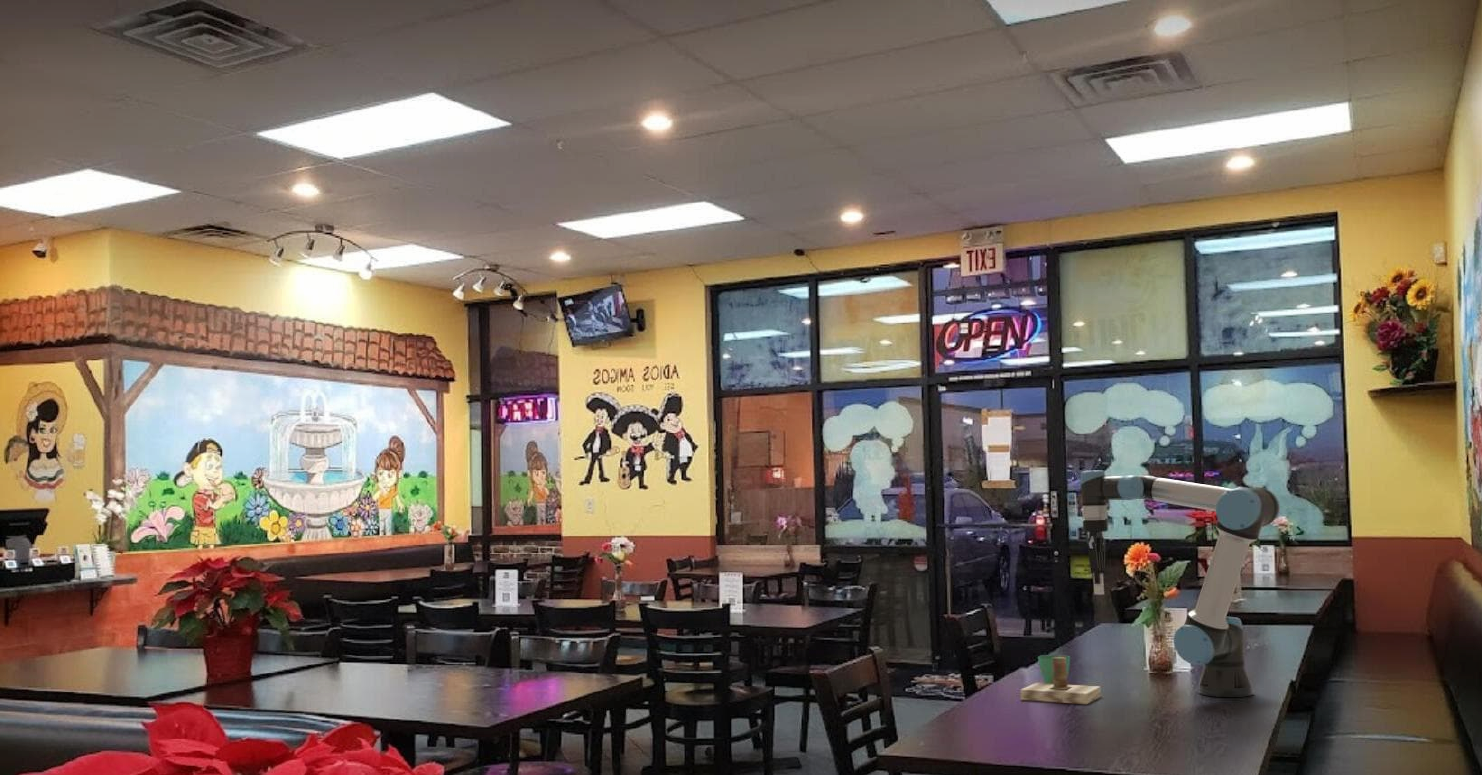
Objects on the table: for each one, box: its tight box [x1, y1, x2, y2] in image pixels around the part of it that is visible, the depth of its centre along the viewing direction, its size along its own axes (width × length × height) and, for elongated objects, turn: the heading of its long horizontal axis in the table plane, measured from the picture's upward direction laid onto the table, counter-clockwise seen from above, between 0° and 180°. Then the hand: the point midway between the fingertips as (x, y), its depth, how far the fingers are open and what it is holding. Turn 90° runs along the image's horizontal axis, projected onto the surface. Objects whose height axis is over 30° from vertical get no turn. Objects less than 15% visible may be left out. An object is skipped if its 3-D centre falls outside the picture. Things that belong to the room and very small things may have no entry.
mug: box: [1037, 654, 1071, 684], centre depth 381 cm, size 15×10×10 cm
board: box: [1020, 682, 1102, 705], centre depth 362 cm, size 20×14×3 cm
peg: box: [1052, 657, 1068, 690], centre depth 363 cm, size 4×4×12 cm
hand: (1099, 594), depth 378 cm, fingers closed
